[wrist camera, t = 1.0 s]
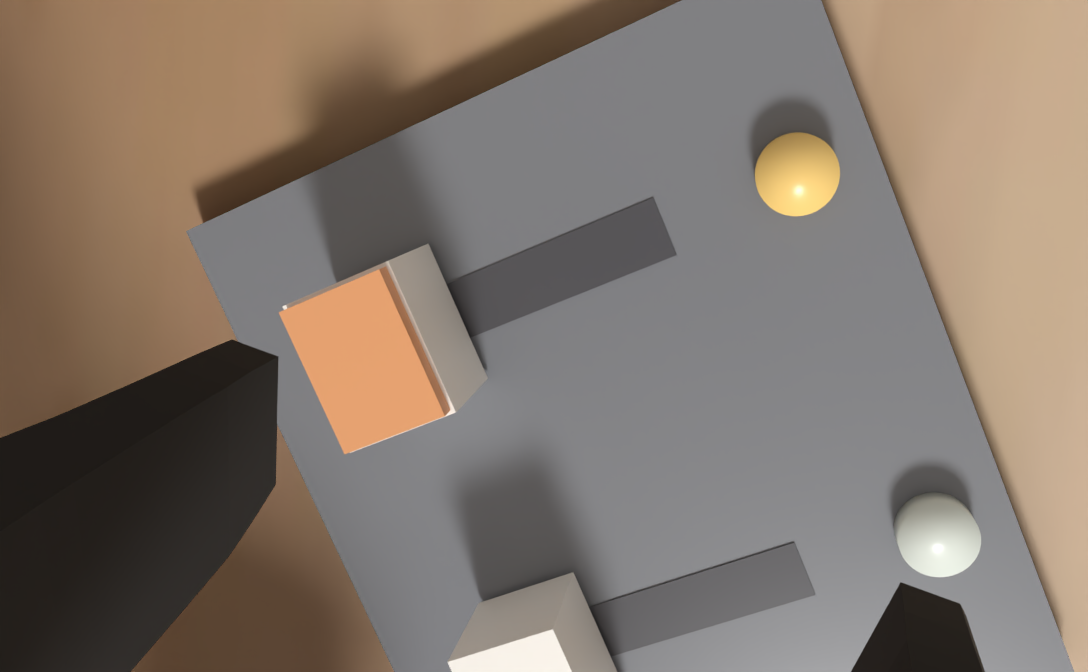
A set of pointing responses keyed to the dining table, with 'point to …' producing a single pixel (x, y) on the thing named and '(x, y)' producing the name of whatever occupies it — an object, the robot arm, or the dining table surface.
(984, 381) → the dining table surface
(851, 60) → the dining table surface
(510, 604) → the cream rectangular block
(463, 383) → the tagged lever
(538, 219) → the panel
